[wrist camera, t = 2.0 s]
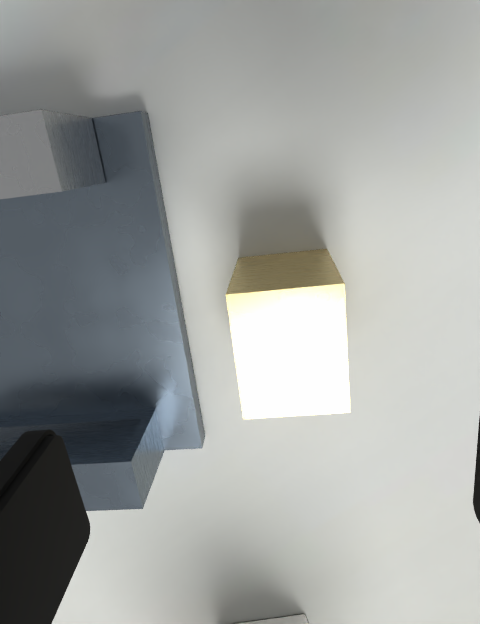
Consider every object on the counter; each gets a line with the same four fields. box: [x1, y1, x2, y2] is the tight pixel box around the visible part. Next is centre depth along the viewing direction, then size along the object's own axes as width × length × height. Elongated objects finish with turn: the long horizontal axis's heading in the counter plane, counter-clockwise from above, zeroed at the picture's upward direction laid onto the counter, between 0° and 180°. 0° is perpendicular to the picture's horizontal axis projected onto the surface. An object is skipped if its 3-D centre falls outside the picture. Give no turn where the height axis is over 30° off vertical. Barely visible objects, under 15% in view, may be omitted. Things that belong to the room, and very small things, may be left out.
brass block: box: [226, 249, 350, 419], centre depth 18 cm, size 4×5×6 cm
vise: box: [0, 111, 205, 511], centre depth 19 cm, size 14×16×5 cm
